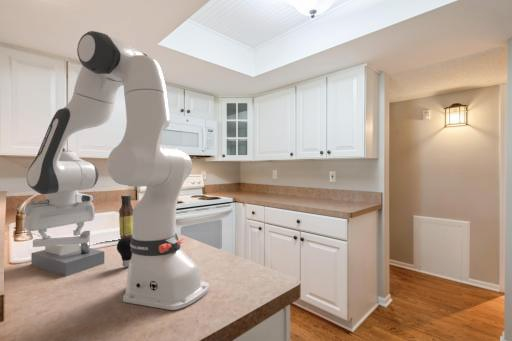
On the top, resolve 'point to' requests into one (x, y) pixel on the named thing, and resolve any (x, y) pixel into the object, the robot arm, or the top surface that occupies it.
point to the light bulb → (125, 250)
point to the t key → (66, 241)
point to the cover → (62, 249)
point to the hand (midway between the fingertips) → (62, 238)
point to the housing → (67, 261)
